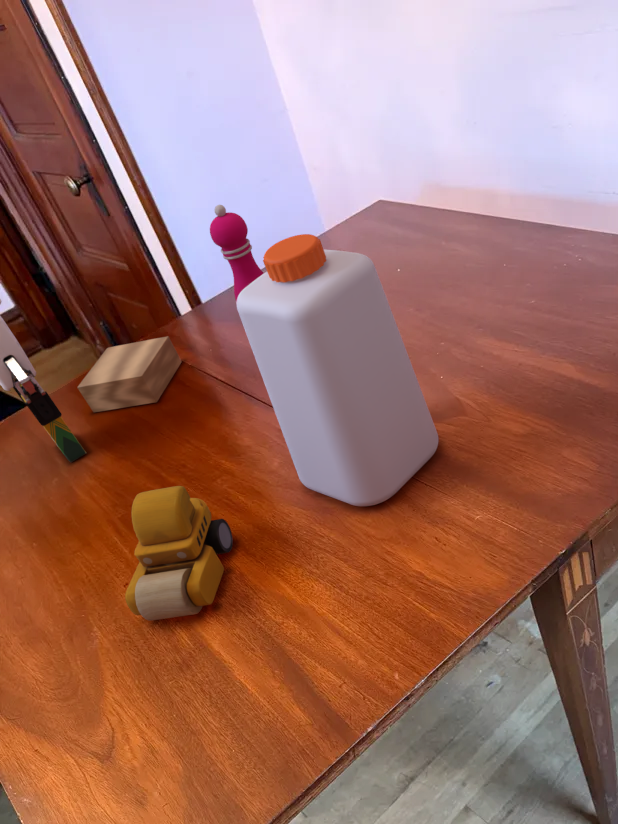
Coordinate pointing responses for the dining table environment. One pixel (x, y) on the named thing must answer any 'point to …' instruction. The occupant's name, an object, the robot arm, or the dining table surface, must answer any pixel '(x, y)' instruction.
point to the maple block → (130, 374)
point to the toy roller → (175, 554)
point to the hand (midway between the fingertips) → (43, 410)
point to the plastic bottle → (337, 371)
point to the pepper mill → (235, 247)
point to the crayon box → (64, 439)
